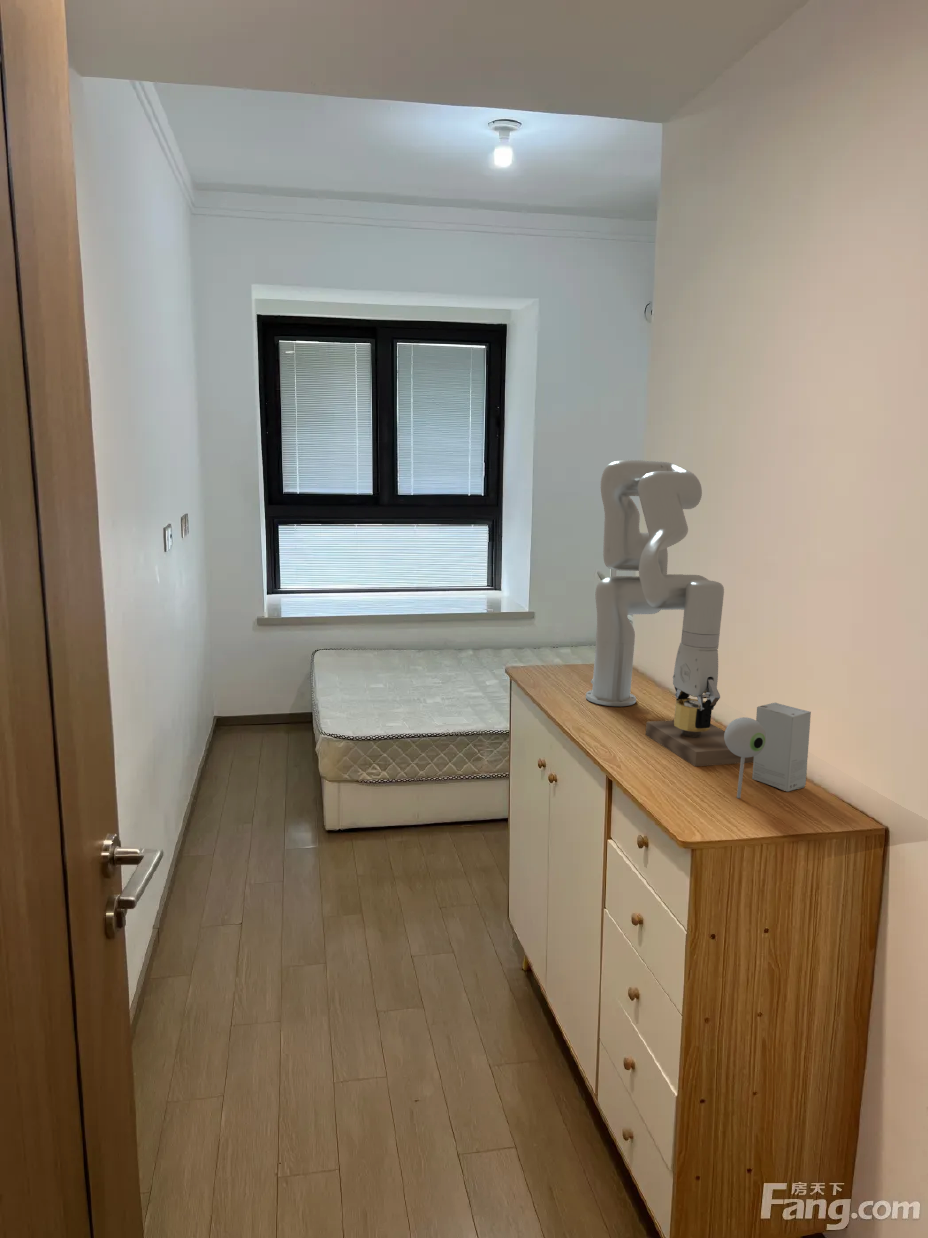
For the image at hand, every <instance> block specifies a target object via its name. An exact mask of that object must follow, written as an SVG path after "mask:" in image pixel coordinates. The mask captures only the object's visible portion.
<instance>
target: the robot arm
mask: <svg viewBox="0 0 928 1238" xmlns="http://www.w3.org/2000/svg"><path fill="white" fill-rule="evenodd" d="M600 495H601V500H602V505H603V511H604V522H603V525H604V526H603V551H602V552H603V554H602V555H603V563H604V565H605V567H606V568H607V569H610V570H613V571H619V572H620V571H621V572H622V571H626V572H631V571H632V572H638V575H637V576H633V575H615V576H613V575H612V576H608V577H605V578H603V579H602V580H600V581H599V582H598V583H597V585H596V587H595V605H596V635H595V637H596V638H595V649H594V650H595V651H594V661H593V676H592V679H591V680H590V683H591V684H592V689H591V690H588V691H587V692H585V698H586V700H588V701H589V702H590V703H593V704H596V705H600V706H601V705H602V706H607V707H627V706H633V705H634V704H635V703H636V702H637V696H635V694H633V693H631V692H632V691H631V689H632V677H633V666H634V665H633V663H634V654H635V652H634V651H635V641H636V640H635V639H636V635H635V634H636V633H635V629H634V626H633V624H632V623H631V621H630V619H629V617H628V616H630V615H633V616H634V615H655V614H657V613H660V612H661V611H663V610H665V611H667V610H668V611H672V610H675V611H676V610H679V611H680V610H681V611H683V617H682V618H683V620H682V628H681V629H682V630H681V639H680V640H681V641H680V643H679V646H678V649H677V653H676V657H675V663H674V669H673V675H672V685H673V687H674V689H675V693H674V696H675V698H676V700H679V699H688V698H689V699H692V697H693V698H696V699H698V705H699V709H697V713H696V723H695V727H696V728H709V727H710V723H711V720H712V712H713V710H714V708H715V706H716V705H717V703H718V701H720V699H721V695H720V693H719V689H718V681H719V678H718V677H719V653H718V652H719V651H718V649H719V644H720V635H721V634H720V633H721V632H720V631H721V622H722V616H723V606H724V605H723V604H724V595H725V588H724V585H723V584H722V583H721V582H720V581H715V580H710V579H708V578H706V577H705V576H703V575H698V574H677V573H676V574H675V573H674V574H668V561H669V560H668V559H669V558H668V557H669V552H668V548H669V547H672V546H674V545H676V544H678V543H680V542H681V541H683V539H685V538H686V537H687V535H688V532H689V527H688V523H687V520H686V516H685V513H684V510H692V509H694V508H696V507H697V506H698V505H699V504H700V502H701V500H702V495H703V490H702V484H701V482H700V480H699V478H698V477H697V475H696V474H694V473H693V472H692V471H690V470H688V469H685V468H684V467H681V466H679V465H677V464H675V463H673V462H670V461H660V460H659V461H656V460H655V461H654V460H641V459H640V460H639V459H638V460H637V459H623V460H622V459H621V460H620V459H619V460H615V461H611V462H610V463H608V464H607V465H606V466H605V468H604V469H603V471H602V475H601V478H600ZM632 497H638V498H639V501H640V502H639V503H640V505H641V509H642V513H643V517H644V521H645V525H646V529H647V532H641V531H640V521H641V517H640V515H641V514H640V512H639V509H638V506H637V505H636V504H635V502H634V500H633V499H632ZM690 697H691V698H690ZM704 699H706V700H704ZM676 700H675V701H676ZM703 701H705V702H703Z"/></svg>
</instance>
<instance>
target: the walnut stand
mask: <svg viewBox="0 0 928 1238" xmlns="http://www.w3.org/2000/svg"><path fill="white" fill-rule="evenodd" d="M645 724H646V726H645V733H644V734H645V736H647V737H649V738H650V740H652V741H654V742H656V743H658V744H659V745H661V746H663V747H664V748H665V749H667V750H668V751H670V752H671V753H673V754H675V755H676V756H677V757H680V758H681V759H683V760H684V761H686V762H687V763H689V764H691V765H693V766H694V767H704V766H706V767H707V766H717V765H734V764H740V762H741V757H739V756H737V755H735V754H733V753H732V752H731V751H730V750H729V749H728V747H727V746H726V743H725V739H724V733H725V730H723V729H722V728H720V727H718V726H716V725H714V724H712V723H711V722H710V729H709V730H707V731H704V732H701V737H699V738H690V737H685V736H683V735H682V734H681V731H682V729H679V728H677V727H676V726H674V719H673V720H671V719H670V720H655V721H653V720H652V721H646V723H645ZM753 761H754V756H753V757H748V758H745V761H744V764H745V763H746V764H747V763H753Z"/></svg>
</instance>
